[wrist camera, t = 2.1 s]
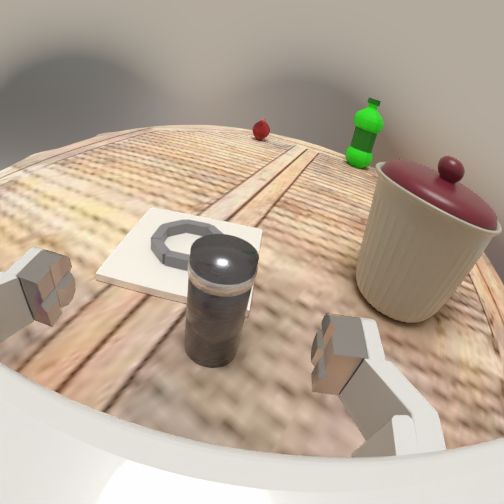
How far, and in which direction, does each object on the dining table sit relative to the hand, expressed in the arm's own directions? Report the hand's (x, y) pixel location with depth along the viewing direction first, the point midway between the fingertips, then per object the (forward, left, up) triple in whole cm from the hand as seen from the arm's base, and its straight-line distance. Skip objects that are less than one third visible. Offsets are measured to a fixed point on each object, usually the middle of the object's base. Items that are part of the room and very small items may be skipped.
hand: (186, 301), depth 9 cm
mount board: (-6, +26, -17) cm, 32 cm away
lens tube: (0, +12, -17) cm, 21 cm away
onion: (-3, +101, -17) cm, 103 cm away
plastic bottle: (+32, +98, -17) cm, 105 cm away
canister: (+23, +26, -17) cm, 39 cm away
